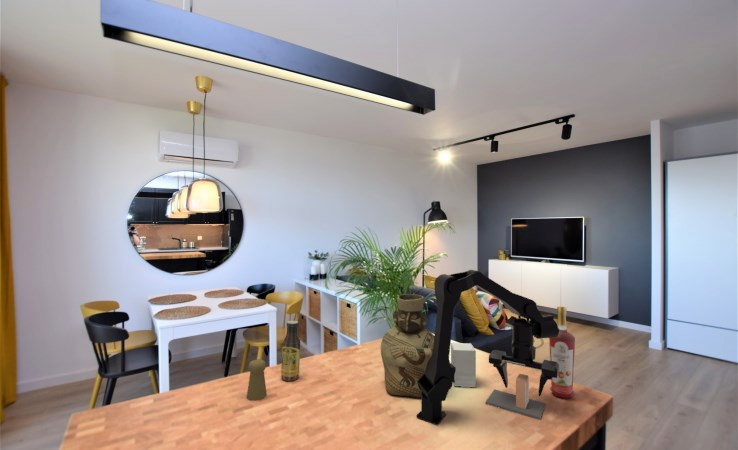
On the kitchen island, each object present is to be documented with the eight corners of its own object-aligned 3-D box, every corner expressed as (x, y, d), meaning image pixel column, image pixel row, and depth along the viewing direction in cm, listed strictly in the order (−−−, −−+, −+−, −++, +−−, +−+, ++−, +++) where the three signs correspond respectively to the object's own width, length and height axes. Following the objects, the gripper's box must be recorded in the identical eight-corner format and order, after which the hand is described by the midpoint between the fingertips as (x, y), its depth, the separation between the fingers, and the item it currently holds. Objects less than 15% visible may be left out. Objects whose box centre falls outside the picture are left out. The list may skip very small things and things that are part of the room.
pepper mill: (260, 401, 103) (261, 365, 104) (242, 399, 105) (243, 363, 105) (270, 392, 109) (270, 358, 110) (253, 390, 111) (253, 356, 111)
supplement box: (471, 378, 121) (471, 343, 121) (476, 388, 113) (476, 350, 113) (450, 377, 121) (450, 342, 122) (453, 387, 114) (453, 349, 114)
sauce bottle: (278, 381, 117) (278, 323, 118) (285, 373, 124) (286, 319, 124) (295, 382, 116) (296, 324, 117) (302, 375, 122) (303, 319, 123)
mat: (540, 419, 95) (540, 417, 95) (485, 403, 103) (485, 401, 103) (545, 404, 103) (545, 402, 103) (494, 391, 111) (494, 389, 111)
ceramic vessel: (420, 409, 100) (421, 306, 100) (368, 386, 114) (369, 297, 114) (453, 387, 113) (453, 297, 114) (402, 369, 128) (403, 290, 128)
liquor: (575, 393, 110) (575, 307, 111) (574, 403, 104) (574, 311, 104) (550, 387, 114) (550, 304, 115) (547, 396, 108) (547, 308, 108)
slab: (525, 409, 99) (525, 381, 99) (515, 406, 101) (515, 379, 101) (528, 402, 103) (528, 375, 103) (519, 399, 105) (519, 373, 105)
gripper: (561, 338, 103) (561, 389, 103) (497, 327, 114) (497, 374, 114) (556, 348, 94) (557, 405, 94) (488, 336, 105) (488, 387, 105)
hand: (522, 391), depth 102 cm, fingers open, 9 cm apart
